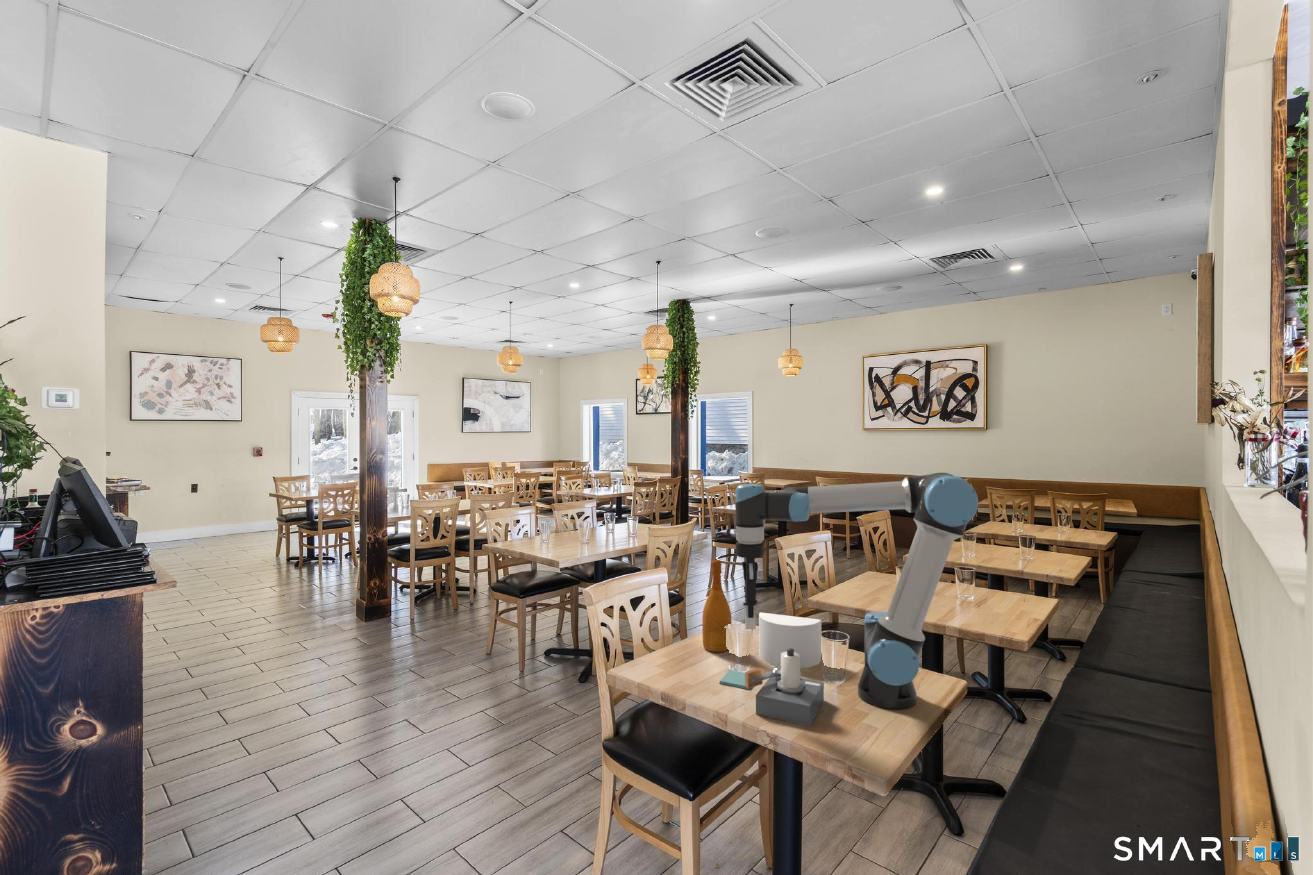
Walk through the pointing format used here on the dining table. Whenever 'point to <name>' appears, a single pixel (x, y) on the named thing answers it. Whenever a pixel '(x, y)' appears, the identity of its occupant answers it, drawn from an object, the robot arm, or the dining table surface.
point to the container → (789, 638)
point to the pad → (734, 679)
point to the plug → (790, 673)
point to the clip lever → (760, 676)
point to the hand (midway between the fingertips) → (750, 628)
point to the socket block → (790, 701)
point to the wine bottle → (715, 614)
